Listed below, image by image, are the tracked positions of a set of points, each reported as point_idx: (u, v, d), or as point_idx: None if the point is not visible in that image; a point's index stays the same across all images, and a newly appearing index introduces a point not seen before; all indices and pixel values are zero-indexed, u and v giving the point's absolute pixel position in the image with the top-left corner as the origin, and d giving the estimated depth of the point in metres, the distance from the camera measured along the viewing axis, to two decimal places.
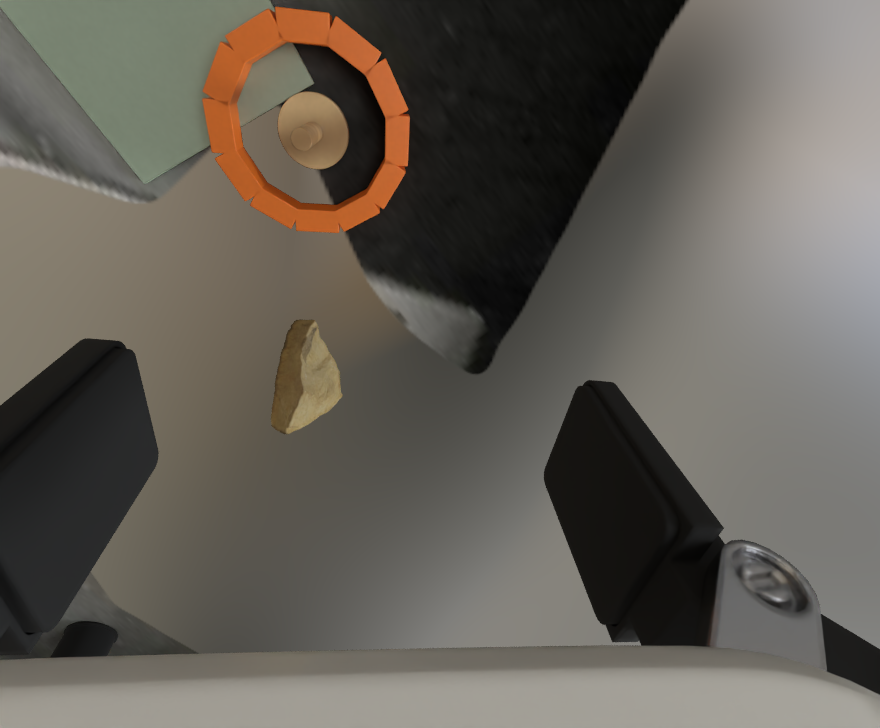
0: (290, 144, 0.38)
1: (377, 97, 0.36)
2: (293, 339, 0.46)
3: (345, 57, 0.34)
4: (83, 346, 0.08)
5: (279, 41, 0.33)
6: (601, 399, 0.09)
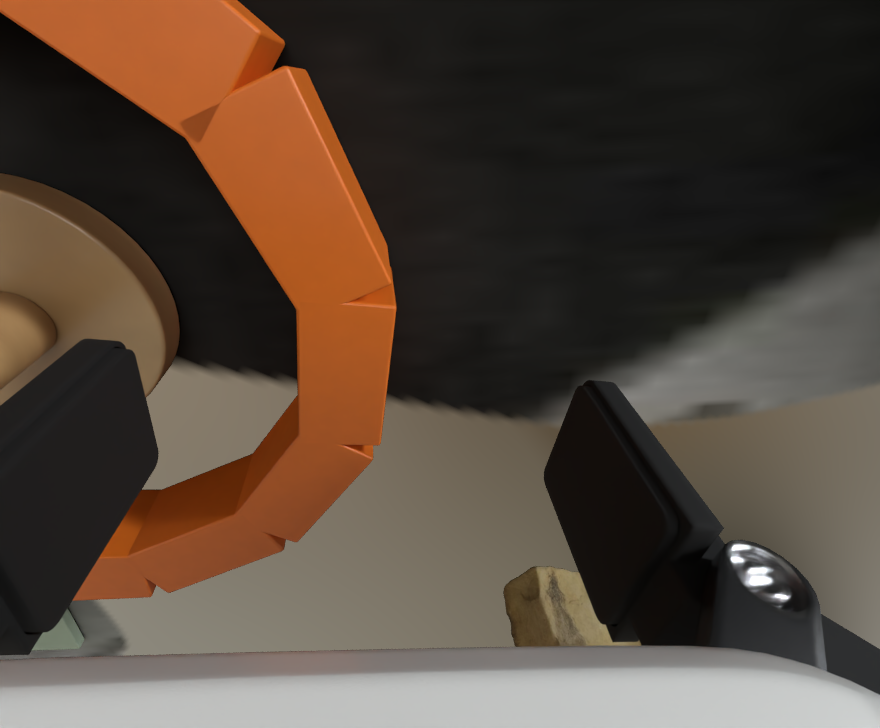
0: None
1: None
2: None
3: None
4: (83, 346, 0.08)
5: None
6: (601, 399, 0.09)
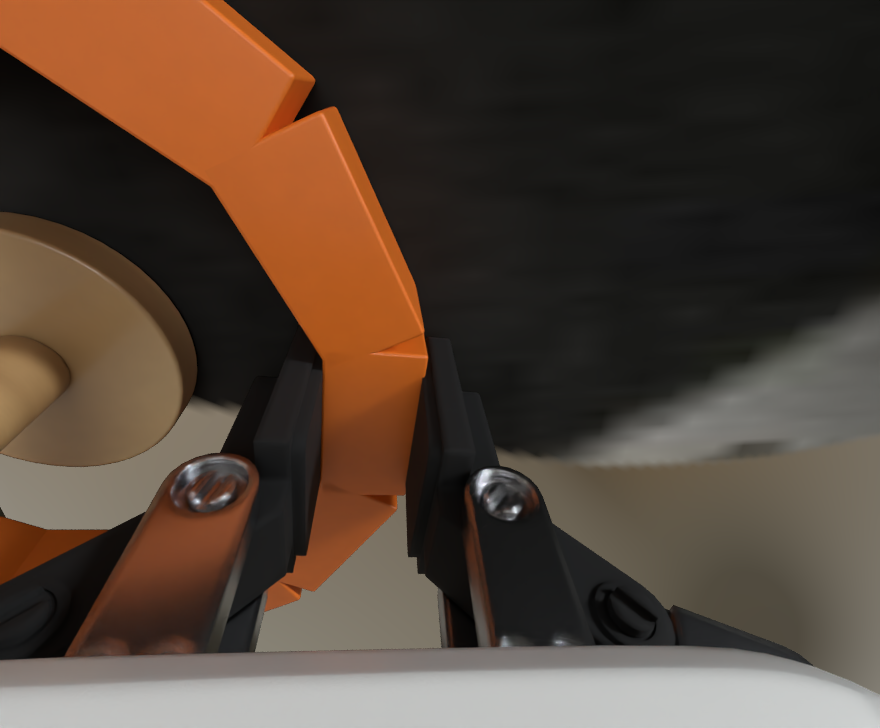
0: (58, 447, 0.10)
1: None
2: None
3: None
4: (303, 330, 0.09)
5: None
6: (428, 351, 0.09)
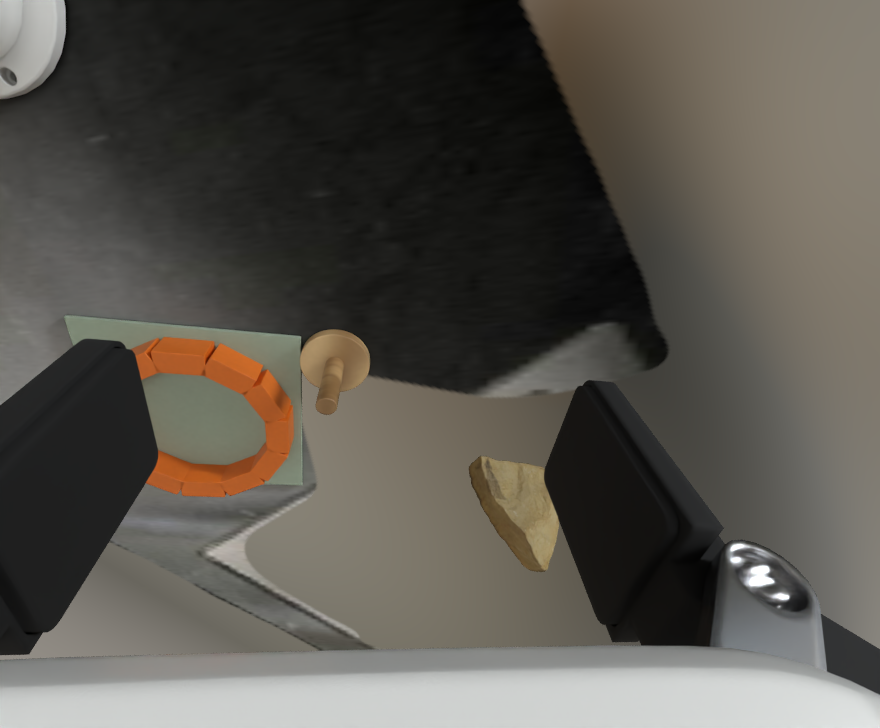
0: None
1: (181, 373, 0.35)
2: (480, 488, 0.45)
3: None
4: (83, 346, 0.08)
5: None
6: (601, 399, 0.09)
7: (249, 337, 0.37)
